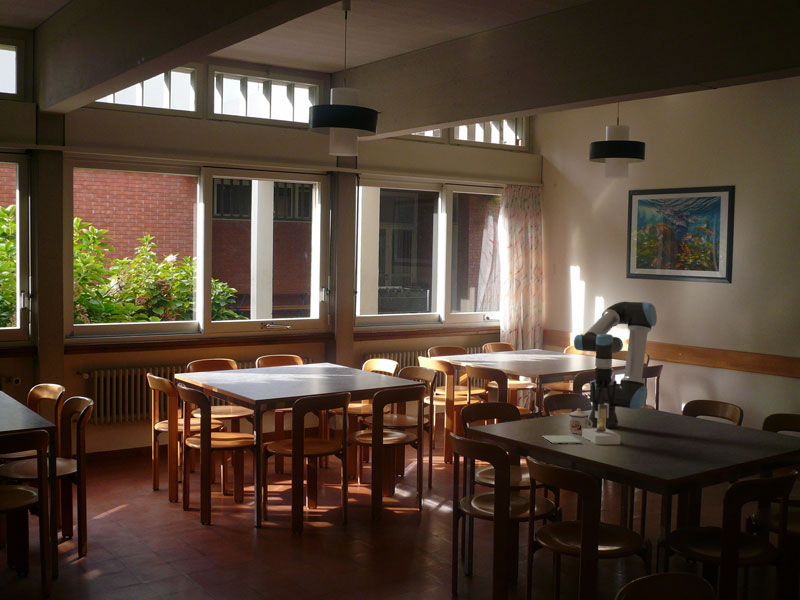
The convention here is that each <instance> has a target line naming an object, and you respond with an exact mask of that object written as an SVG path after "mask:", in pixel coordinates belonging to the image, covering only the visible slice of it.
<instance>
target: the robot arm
mask: <svg viewBox="0 0 800 600" xmlns="http://www.w3.org/2000/svg"><path fill="white" fill-rule="evenodd" d="M657 319H658V317H657V310H656V307H655V305H654V304H653V303H650V302H645V301H643V302H642V301H620V302H617V303H614V304H612V305H610V306H609V307H607V308H606V309H605V310H604V311H603V312H602V313H601V317H600V318H599V319H598V320H596V322H595V323H594V324H593V325H592V326H591V327H590V328H589V329H588V330H587V331H586V332H585V333H584V334H577V335H576V336H574V339H573V346H574V349H575V350H576V351H582V352H594V353H595V360H594V361H595V362H594V366H595V368H594V376H595V377H594V380H592V381H591V380H590V381H589V382H588V384H589V386H590V387H589V393H590V394H589V395H590V396H589V398H590V400H589V402H590V403H591V411H590V413H589V415H588V419H590V420H591V421H592V423H593V425H592V428H597V418H600V404H603V405H607V408H606V429H615V428H616V429H617V428H619V420H618V419H619V418H618V416H617V413H616V407H617V408H624V409H631V410H640V409H642V408H643V407H644V406H645V404H646V402H647V399H648V388H647V387H646V386H645V382H644V381H643V373H644V364H645V357H646V349H647V341H648V333H650V331H652V327H655V326H656V325H657ZM618 325H627V328H628V330H629V338H628V342H627V343H628V346H627V351H626V360H625V361H626V362H625V368H624V375H623V378H621V379H620V383H618V382H617V380H616V379H615V380H614V379H612V374H613V373H612V371H613V370H612V369H613V354H616V353H619V352H620V351H622V349H623V348H624V344H623V343H624V342H623V340H622V339H621V338H619V337H618V336H613V335H612V334H609V333H608V332H610V330H612V328H615V327H617V326H618ZM590 425H591V423H590V422H589V421H588V426H589V427H590Z"/></svg>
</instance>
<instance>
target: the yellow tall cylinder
mask: <svg viewBox="0 0 800 600" xmlns="http://www.w3.org/2000/svg"><path fill="white" fill-rule="evenodd" d="M606 408H607V405H603V404H600V418H597V427H596V429H597V431H600V432H605V431H606V429H607V428H606Z"/></svg>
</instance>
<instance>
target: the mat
mask: <svg viewBox="0 0 800 600" xmlns="http://www.w3.org/2000/svg"><path fill="white" fill-rule="evenodd" d="M542 437H544V438H545V439H547V440H549V441H550V442H552V443H582V444H583V441H582V440H580V439H578V438H577V437H574V436H573V435H567V434H566V435H565V434H564V435H561V434H560V435H542V436H541V438H542ZM545 439H544V440H545ZM550 442H549V443H550Z"/></svg>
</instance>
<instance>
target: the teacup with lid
mask: <svg viewBox="0 0 800 600" xmlns="http://www.w3.org/2000/svg"><path fill="white" fill-rule="evenodd" d="M568 415H569V425H568V426H569V428H568V431H569V433H570V432H572V433H571V434H573V433H577V434H576V435H582V429H593V427H592V425H593V423H592V421H591V420H590V419H589V414H588V413H586V412H584V411H583V410H582V409H581V408H577V409H576V410H575V411H572V412H569V414H568ZM588 421H589V422H590V423H591V425H590V426H589V425H588ZM588 426H589V427H588Z"/></svg>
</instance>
